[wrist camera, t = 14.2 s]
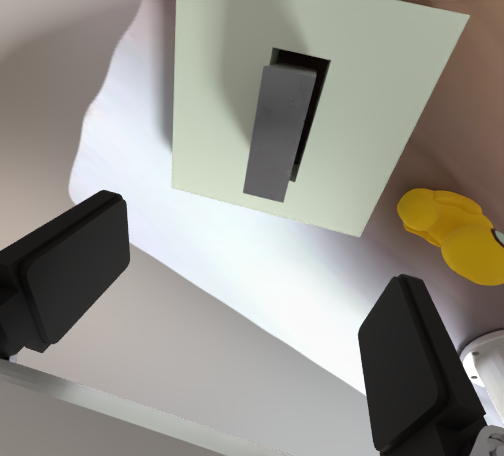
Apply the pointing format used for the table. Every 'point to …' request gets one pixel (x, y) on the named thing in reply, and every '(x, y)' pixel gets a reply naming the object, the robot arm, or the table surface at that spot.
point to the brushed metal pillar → (277, 129)
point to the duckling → (456, 233)
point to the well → (327, 106)
